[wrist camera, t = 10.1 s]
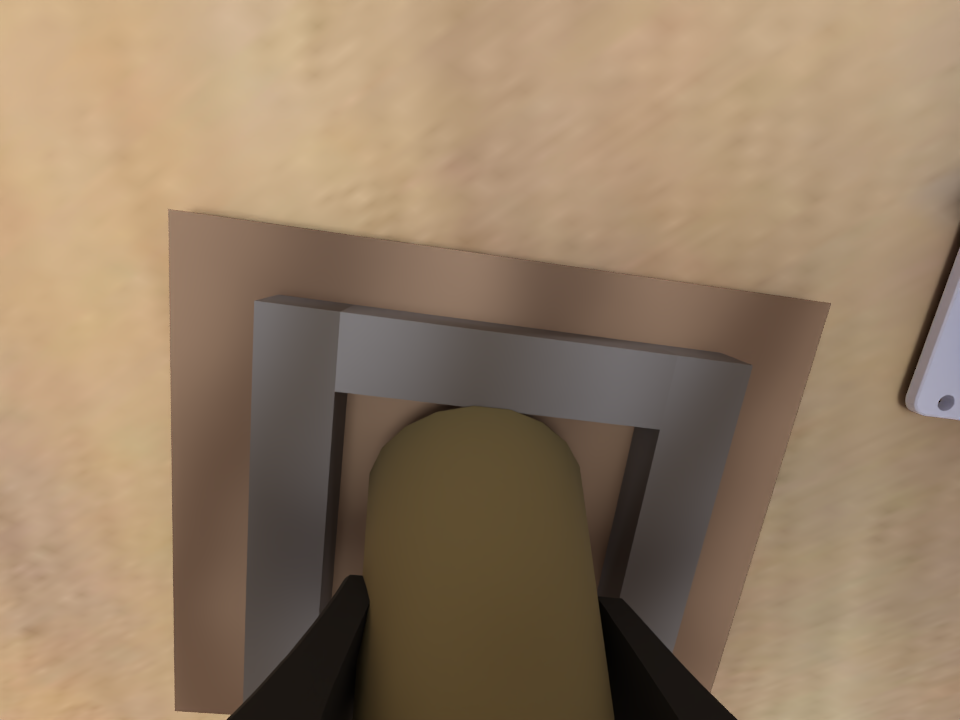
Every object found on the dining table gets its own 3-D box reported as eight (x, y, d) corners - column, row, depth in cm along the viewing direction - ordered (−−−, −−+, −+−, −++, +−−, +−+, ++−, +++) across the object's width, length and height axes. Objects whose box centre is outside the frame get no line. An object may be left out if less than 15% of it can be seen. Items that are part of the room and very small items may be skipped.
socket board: (805, 299, 14) (878, 310, 12) (681, 717, 18) (716, 791, 15) (190, 212, 13) (126, 202, 10) (191, 683, 16) (144, 759, 14)
